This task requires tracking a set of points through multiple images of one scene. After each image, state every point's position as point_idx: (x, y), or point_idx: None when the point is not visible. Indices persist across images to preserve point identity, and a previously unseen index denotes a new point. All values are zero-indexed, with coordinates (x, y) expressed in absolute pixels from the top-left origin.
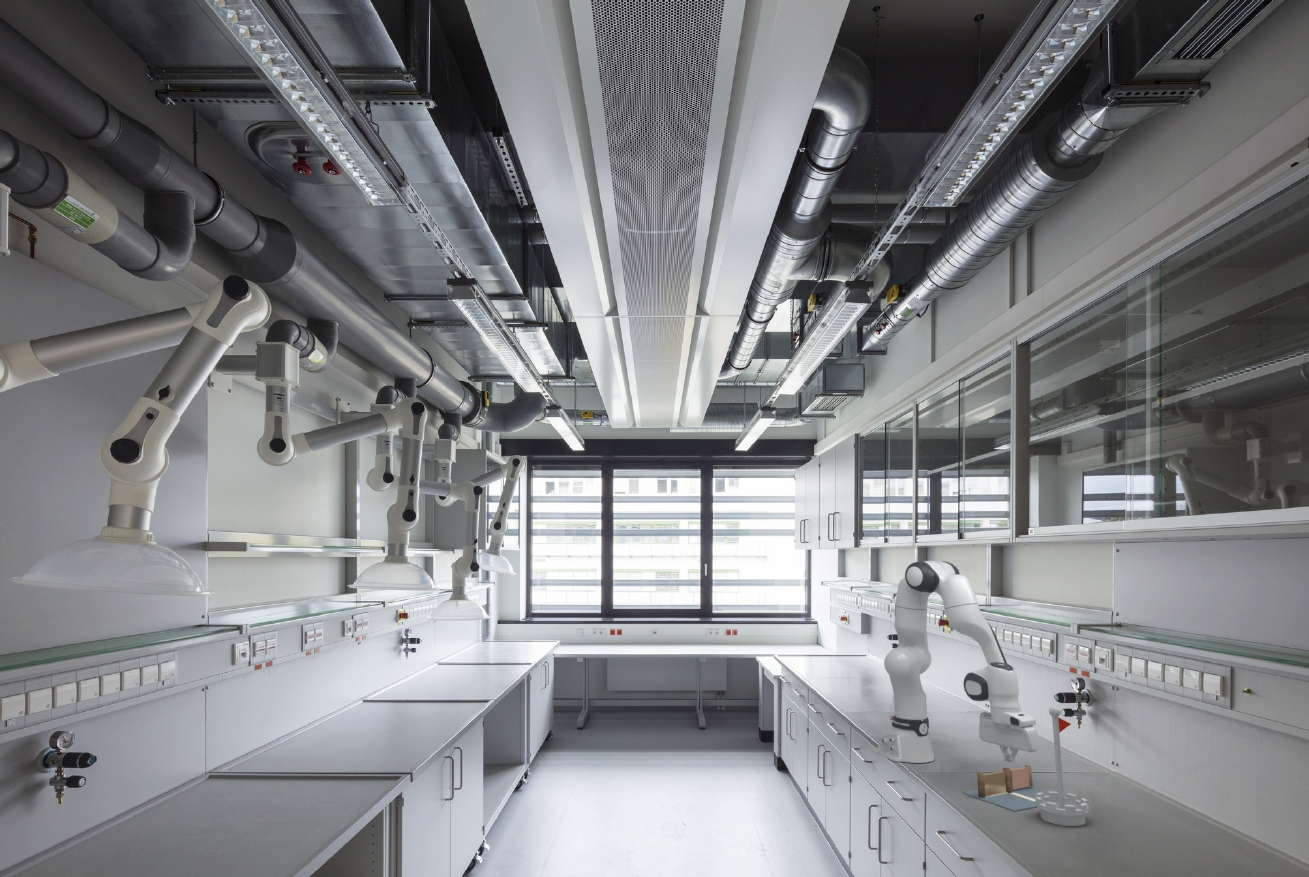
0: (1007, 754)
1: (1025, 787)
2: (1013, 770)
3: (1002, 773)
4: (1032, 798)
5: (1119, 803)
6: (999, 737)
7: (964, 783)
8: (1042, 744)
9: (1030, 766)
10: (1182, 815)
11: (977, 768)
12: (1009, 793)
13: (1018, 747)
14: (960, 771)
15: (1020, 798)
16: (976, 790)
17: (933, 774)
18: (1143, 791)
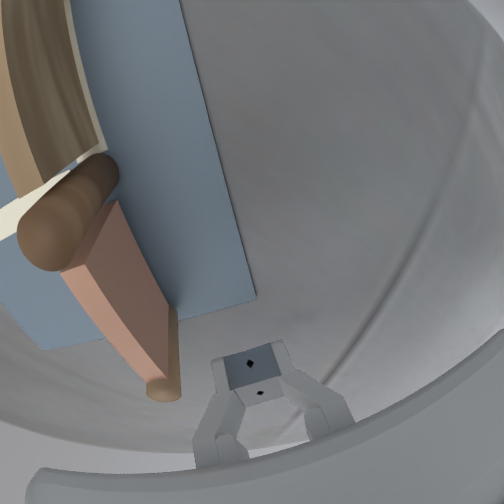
0: (283, 388)
1: (166, 293)
2: (70, 288)
3: (12, 168)
4: (7, 236)
5: (49, 403)
6: (362, 499)
7: (326, 34)
8: None
9: (148, 395)
10: (18, 420)
11: (442, 248)
12: (72, 166)
13: (112, 489)
14: (455, 165)
15: (6, 184)
16: (162, 2)
17: (460, 35)
18: (142, 449)
